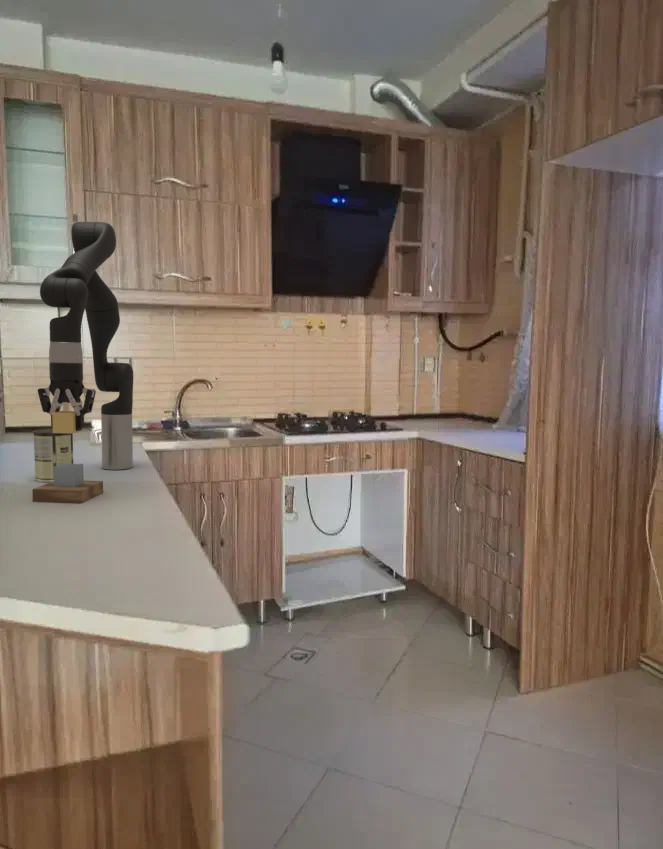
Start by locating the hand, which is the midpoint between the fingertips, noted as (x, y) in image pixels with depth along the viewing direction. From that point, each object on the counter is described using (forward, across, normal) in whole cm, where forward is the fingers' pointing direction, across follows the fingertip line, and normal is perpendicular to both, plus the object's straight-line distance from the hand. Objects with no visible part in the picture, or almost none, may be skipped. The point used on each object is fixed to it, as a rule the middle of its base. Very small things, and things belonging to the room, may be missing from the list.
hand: (67, 430), depth 149 cm
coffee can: (+17, +15, -21) cm, 31 cm away
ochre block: (0, 0, 0) cm, 0 cm away
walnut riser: (+17, 0, 0) cm, 17 cm away
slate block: (+14, 0, 0) cm, 14 cm away
